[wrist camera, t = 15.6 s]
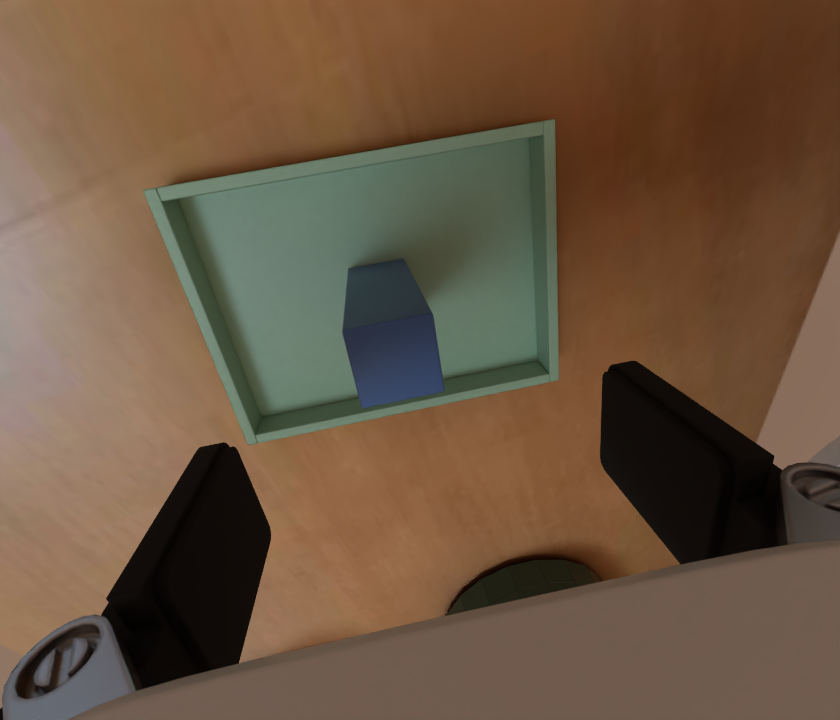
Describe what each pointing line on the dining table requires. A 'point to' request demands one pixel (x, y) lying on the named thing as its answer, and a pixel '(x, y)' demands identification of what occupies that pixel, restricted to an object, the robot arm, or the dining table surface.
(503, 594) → the green bowl
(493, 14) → the dining table surface
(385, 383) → the block
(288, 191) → the tray
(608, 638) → the robot arm
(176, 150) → the dining table surface
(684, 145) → the dining table surface
